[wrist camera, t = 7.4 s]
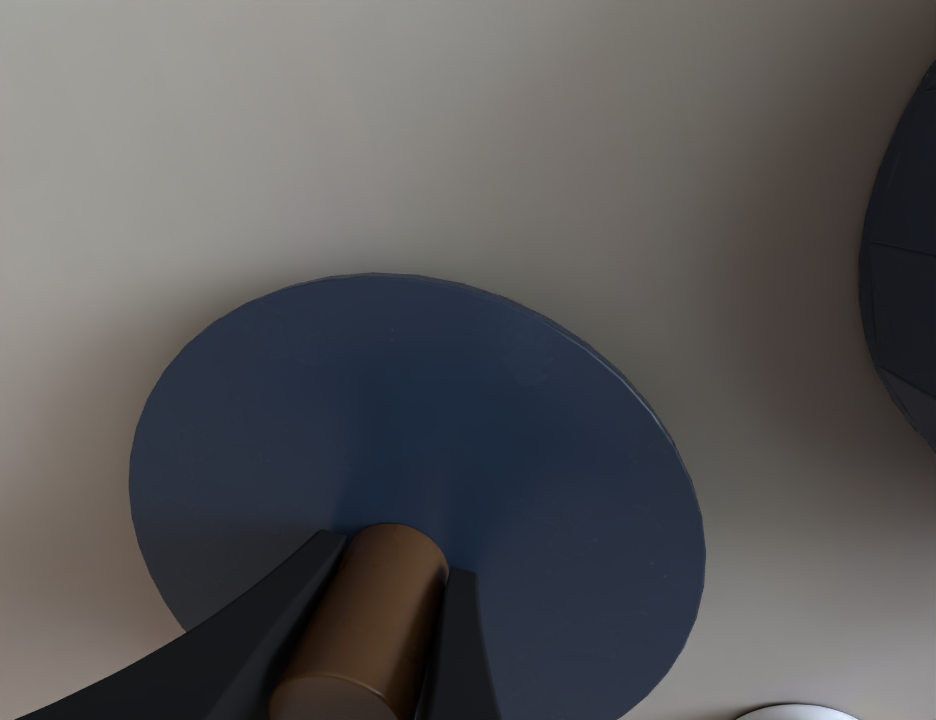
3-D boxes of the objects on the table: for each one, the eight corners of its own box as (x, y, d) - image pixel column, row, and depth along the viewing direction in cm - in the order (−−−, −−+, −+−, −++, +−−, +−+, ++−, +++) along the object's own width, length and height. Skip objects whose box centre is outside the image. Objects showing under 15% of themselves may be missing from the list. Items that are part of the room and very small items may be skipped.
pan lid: (627, 179, 10) (699, 187, 5) (733, 707, 14) (827, 977, 9) (62, 353, 13) (-206, 455, 9) (284, 739, 17) (186, 950, 13)
